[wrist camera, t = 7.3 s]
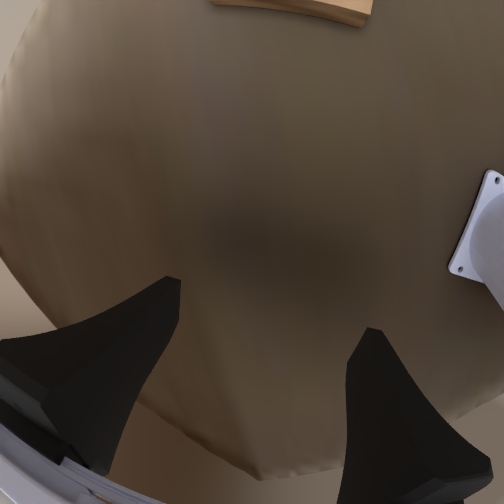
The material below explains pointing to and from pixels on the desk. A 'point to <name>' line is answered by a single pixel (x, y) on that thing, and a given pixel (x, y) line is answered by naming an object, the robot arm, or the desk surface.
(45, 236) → the desk surface
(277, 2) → the bead block
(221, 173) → the desk surface
